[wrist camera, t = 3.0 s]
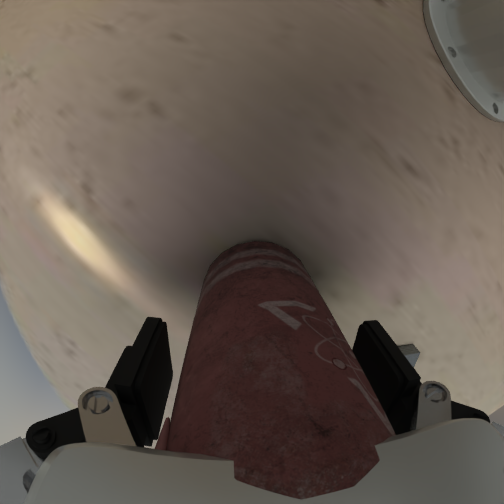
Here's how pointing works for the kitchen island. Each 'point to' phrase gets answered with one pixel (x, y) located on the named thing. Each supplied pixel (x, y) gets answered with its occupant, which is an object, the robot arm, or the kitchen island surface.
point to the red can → (274, 381)
